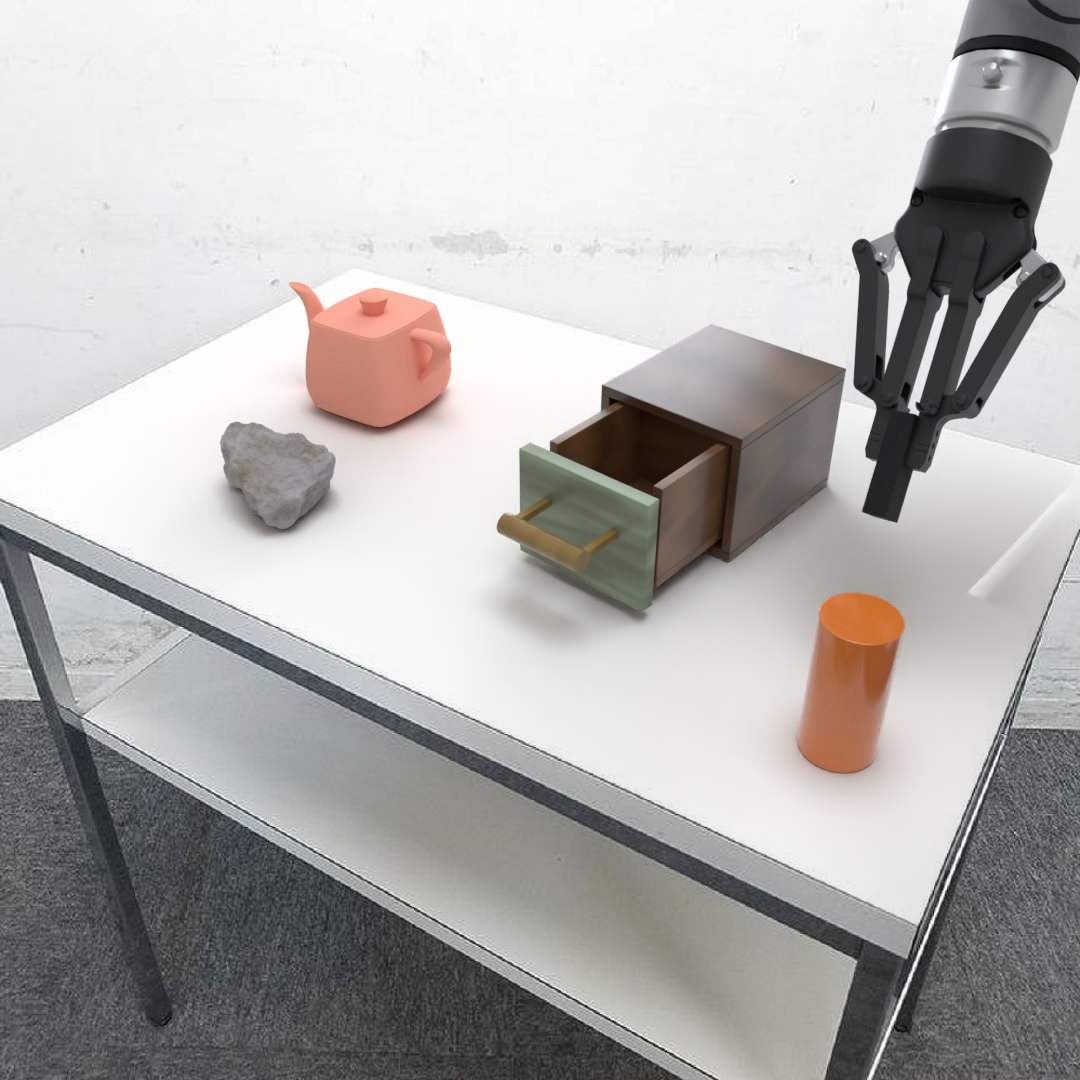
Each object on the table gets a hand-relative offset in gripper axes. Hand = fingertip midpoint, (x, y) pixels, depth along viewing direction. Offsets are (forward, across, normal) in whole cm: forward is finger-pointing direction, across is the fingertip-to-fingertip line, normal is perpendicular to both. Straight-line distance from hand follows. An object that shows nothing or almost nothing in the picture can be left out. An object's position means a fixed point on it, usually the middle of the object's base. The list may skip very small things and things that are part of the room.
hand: (879, 517), depth 74 cm
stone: (+11, -46, -4) cm, 48 cm away
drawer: (+7, -20, +4) cm, 21 cm away
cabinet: (+1, -19, +16) cm, 24 cm away
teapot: (+1, -52, +10) cm, 53 cm away
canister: (+14, +2, 0) cm, 14 cm away
